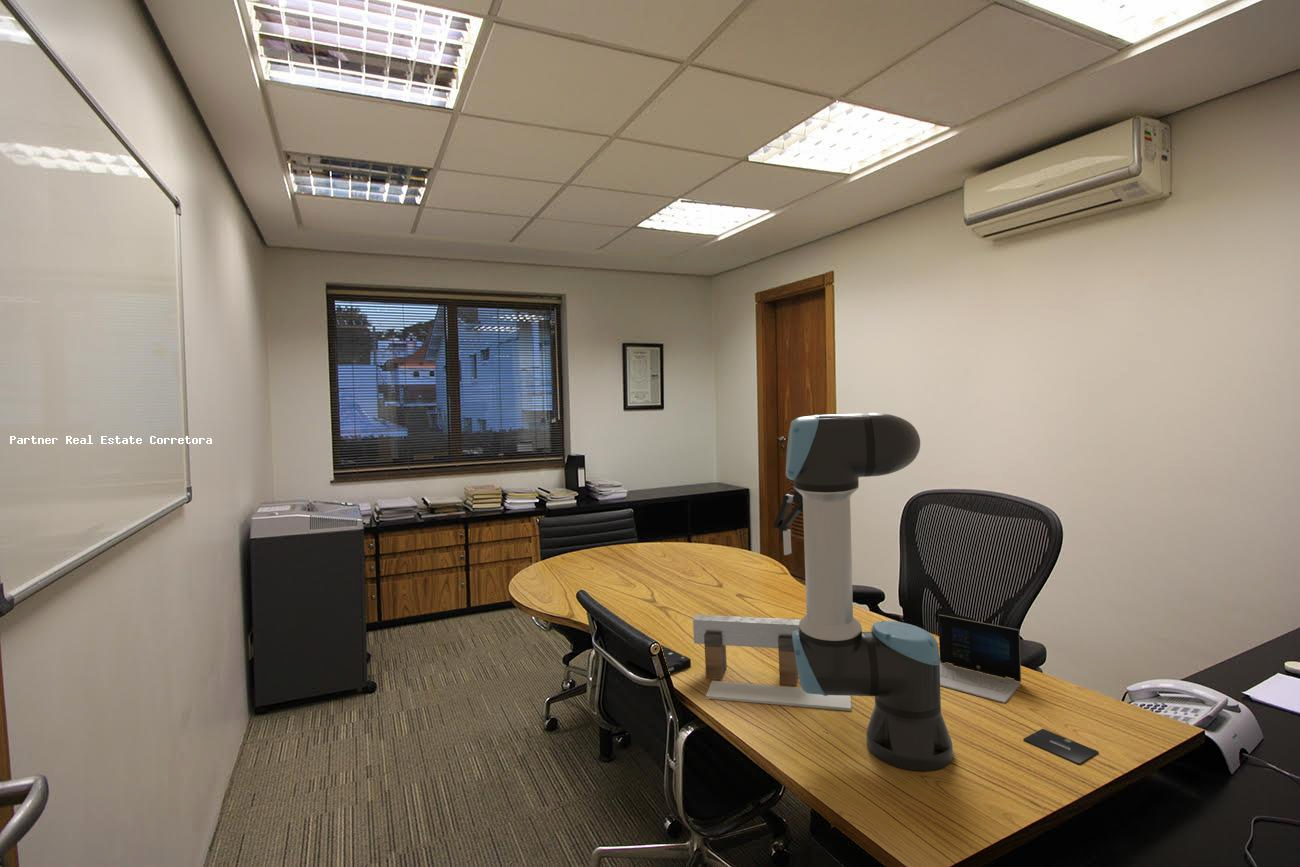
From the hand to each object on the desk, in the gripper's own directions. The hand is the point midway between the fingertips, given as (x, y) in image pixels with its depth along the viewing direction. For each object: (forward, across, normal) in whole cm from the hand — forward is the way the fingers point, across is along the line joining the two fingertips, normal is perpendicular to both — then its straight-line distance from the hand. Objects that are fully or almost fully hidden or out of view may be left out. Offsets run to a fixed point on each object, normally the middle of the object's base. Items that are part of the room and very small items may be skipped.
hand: (810, 557), depth 163 cm
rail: (+18, +6, +21) cm, 28 cm away
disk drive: (+27, +30, +29) cm, 50 cm away
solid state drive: (+27, -57, +12) cm, 64 cm away
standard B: (+26, +14, +25) cm, 39 cm away
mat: (+26, -5, +27) cm, 38 cm away
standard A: (+26, -2, +17) cm, 31 cm away
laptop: (+27, -37, -6) cm, 46 cm away
